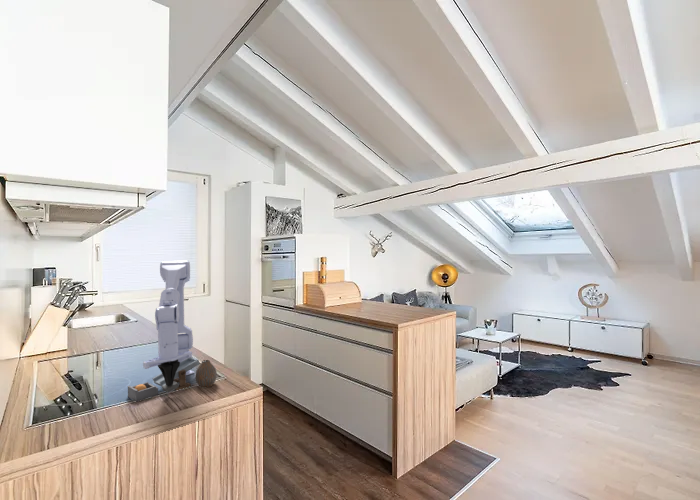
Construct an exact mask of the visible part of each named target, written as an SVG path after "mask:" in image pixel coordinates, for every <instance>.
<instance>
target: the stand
mask: <svg viewBox="0 0 700 500" xmlns="http://www.w3.org/2000/svg"><path fill="white" fill-rule="evenodd" d="M174 381H175V382H177V383H178V385H179V387H178V388H176V389H174V390H173V391H176V390H178V391H180V390H179V389H181V390H184V389H186V387H187V388H190V387H192V383H190V382H187V375H186V370H185V369H184V370H180V371H179V378H176V379H174ZM189 386H190V387H189ZM183 388H184V389H183Z"/></svg>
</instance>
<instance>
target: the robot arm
mask: <svg viewBox="0 0 700 500" xmlns="http://www.w3.org/2000/svg"><path fill="white" fill-rule="evenodd" d="M159 273H160V277H161V279H162V281H163V282H164V283H165V288H164V289H163V290H162V291H161V293H160V298H159V304H158V308H157V307H156V308H155V312H154V318H155V326H156V330H157V344H158V345H157V346H158V347H157V350H158V356H157V357H154V358H151V359H148V360H145V361H143V363H142V366H143V369H145V370H148V369H150V368H152V367H156V366H157V367H158V369H159V370H160V372H161V373H162V374H163V376H164V379H165V383H166V385H167V386H171V385H173V381H174V377H175V374H176V371H177V369H178V367H179V366H180V362H182V361H184V360H186V359H187V358H191V357H193V352H192V348H193V345H194V336H193V330H192V328H191V327H189V326H188V325H185V292H184V291H185V284H186V283H188V282H190V279H191V264H190V261H189V260H172V261H171V260H169V261H168V260H167V261H166V260H165V261H164V260H163V261H162V260H161V262H160V264H159ZM190 350H191V351H190ZM194 373H195V371H193V370H192V369H191V370H189V371H187V372H186V376H188V375H192V374H194ZM177 378H178V379H179V377H177Z"/></svg>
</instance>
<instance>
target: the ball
mask: <svg viewBox="0 0 700 500" xmlns="http://www.w3.org/2000/svg"><path fill="white" fill-rule="evenodd" d="M135 386H136V385H135ZM135 389H137V390H138V391H140V390H144V389H146V386H145V385H143V383H140V384H137V386H136V387H135Z"/></svg>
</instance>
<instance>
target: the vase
mask: <svg viewBox="0 0 700 500" xmlns="http://www.w3.org/2000/svg"><path fill="white" fill-rule="evenodd" d="M217 376H218V374H217V369H216V367H215V365H213V363H212V362H211V361H210V359H203V360H201V362H200V364H199V365H198V368H197V369H196V371H195V382H196V384H197V385H198V387H200V388H202V387H206V388H210V387H211V386H213V385H214V384H215V382H216V380H217Z"/></svg>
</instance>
